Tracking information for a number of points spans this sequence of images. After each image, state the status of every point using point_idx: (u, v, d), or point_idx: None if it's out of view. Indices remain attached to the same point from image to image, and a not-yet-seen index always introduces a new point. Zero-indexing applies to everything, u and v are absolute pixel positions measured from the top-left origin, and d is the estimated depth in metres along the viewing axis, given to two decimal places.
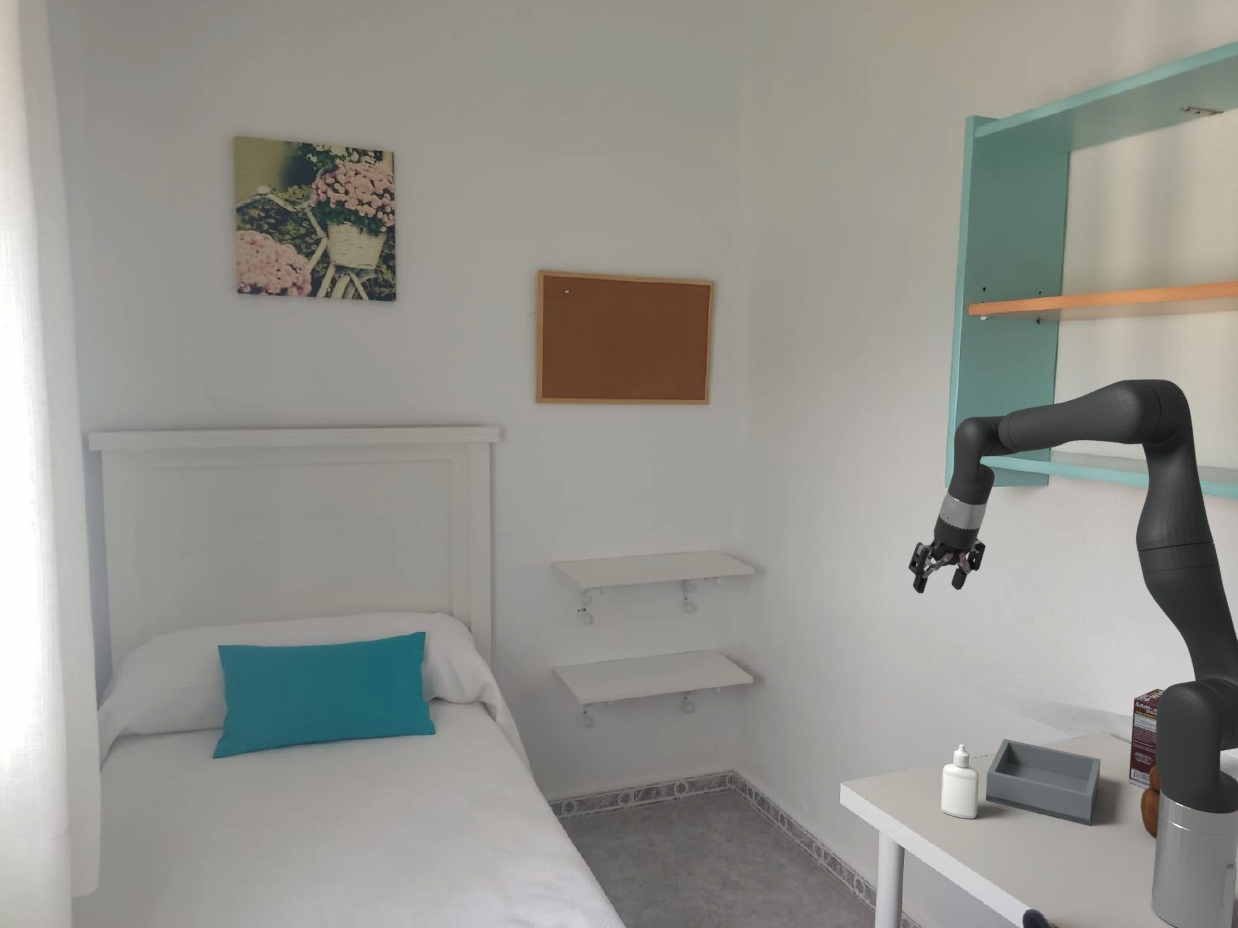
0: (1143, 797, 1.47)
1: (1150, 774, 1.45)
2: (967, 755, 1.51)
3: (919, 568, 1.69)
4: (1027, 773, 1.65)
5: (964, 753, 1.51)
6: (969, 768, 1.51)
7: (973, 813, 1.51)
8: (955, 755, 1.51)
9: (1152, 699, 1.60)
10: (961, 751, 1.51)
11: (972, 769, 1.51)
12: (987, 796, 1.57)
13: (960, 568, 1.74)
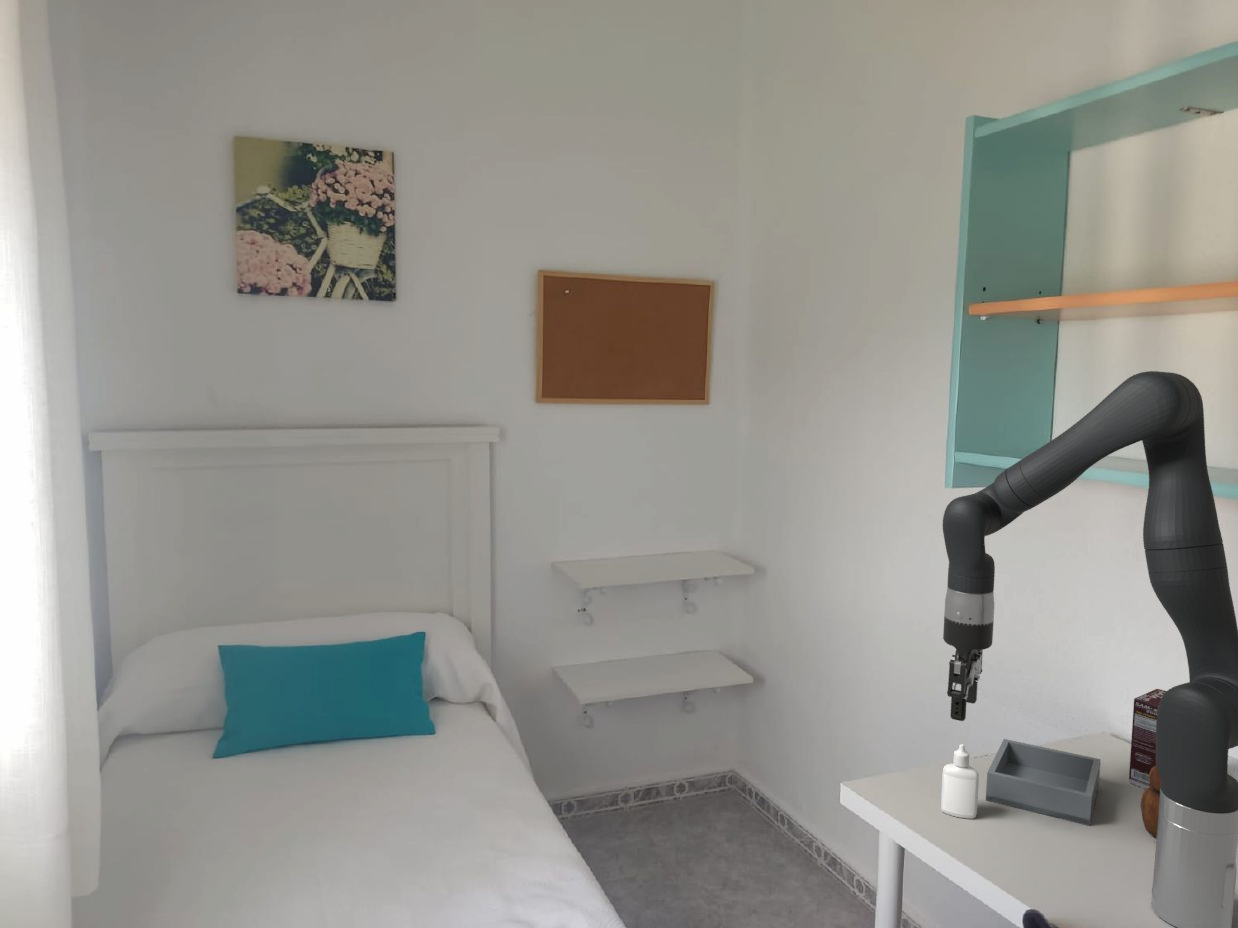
0: (1143, 797, 1.47)
1: (1150, 774, 1.45)
2: (967, 755, 1.51)
3: (964, 688, 1.44)
4: (1027, 773, 1.65)
5: (964, 753, 1.51)
6: (969, 768, 1.51)
7: (973, 813, 1.51)
8: (955, 755, 1.51)
9: (1152, 699, 1.60)
10: (961, 751, 1.51)
11: (972, 769, 1.51)
12: (987, 796, 1.57)
13: None
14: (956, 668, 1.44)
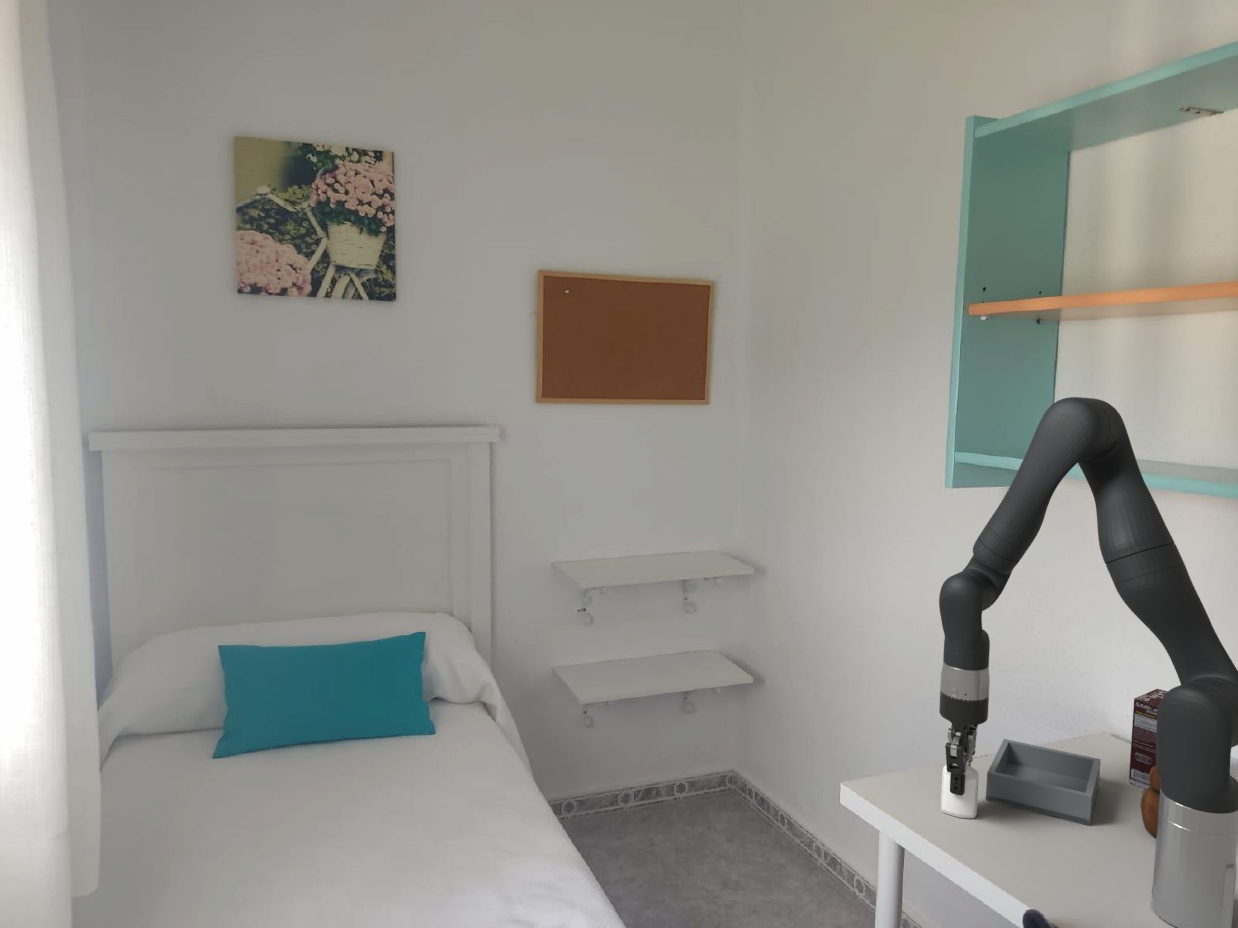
0: (1143, 797, 1.47)
1: (1150, 774, 1.45)
2: None
3: (962, 767, 1.47)
4: (1027, 773, 1.65)
5: (964, 753, 1.51)
6: (969, 768, 1.51)
7: (973, 813, 1.51)
8: None
9: (1152, 699, 1.60)
10: None
11: (972, 769, 1.51)
12: (987, 796, 1.57)
13: None
14: (952, 752, 1.46)
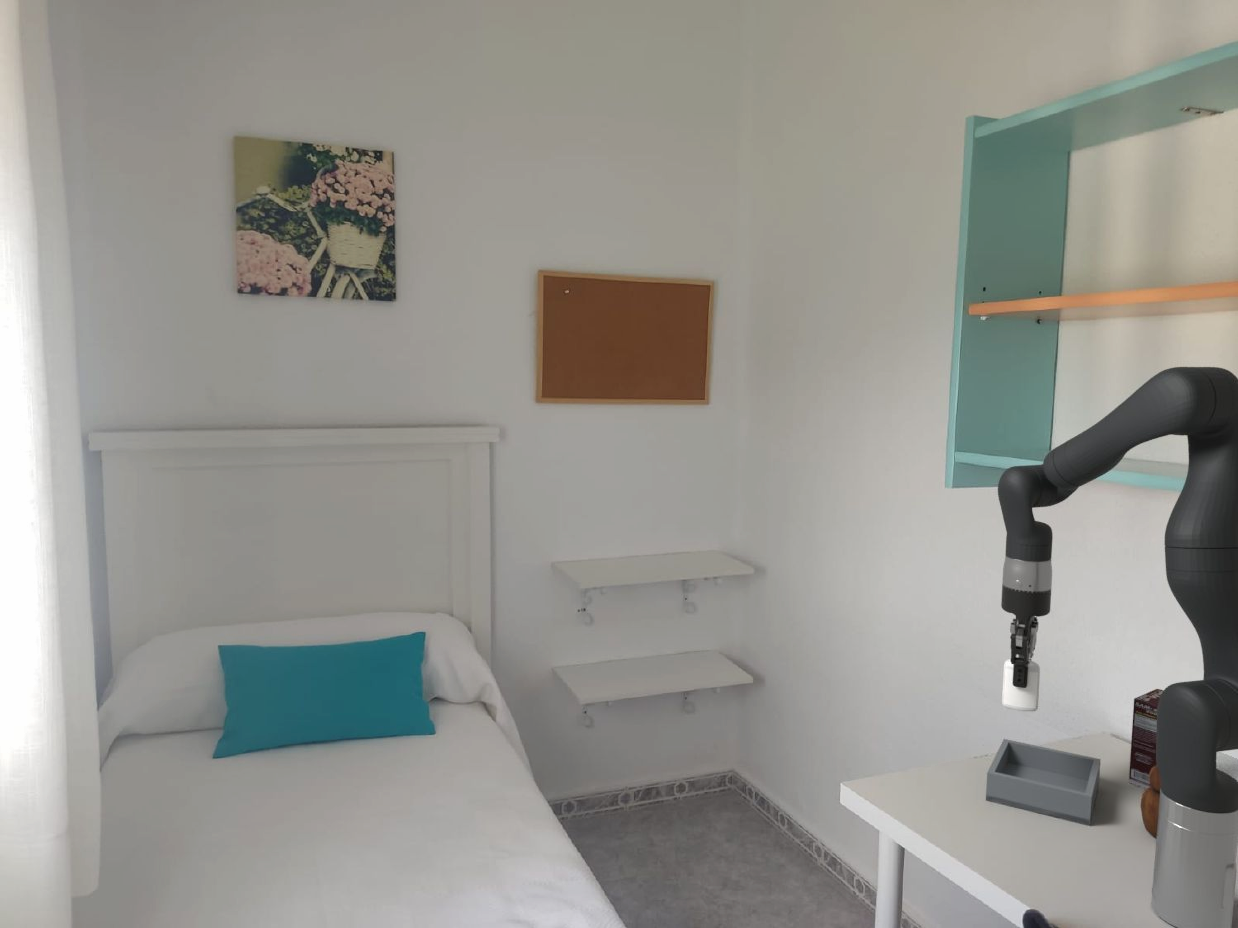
0: (1143, 797, 1.47)
1: (1150, 774, 1.45)
2: None
3: (1027, 657, 1.49)
4: (1027, 773, 1.65)
5: None
6: (1030, 661, 1.53)
7: (1035, 705, 1.53)
8: None
9: (1152, 699, 1.60)
10: None
11: (1033, 662, 1.53)
12: (987, 796, 1.57)
13: None
14: (1018, 642, 1.48)
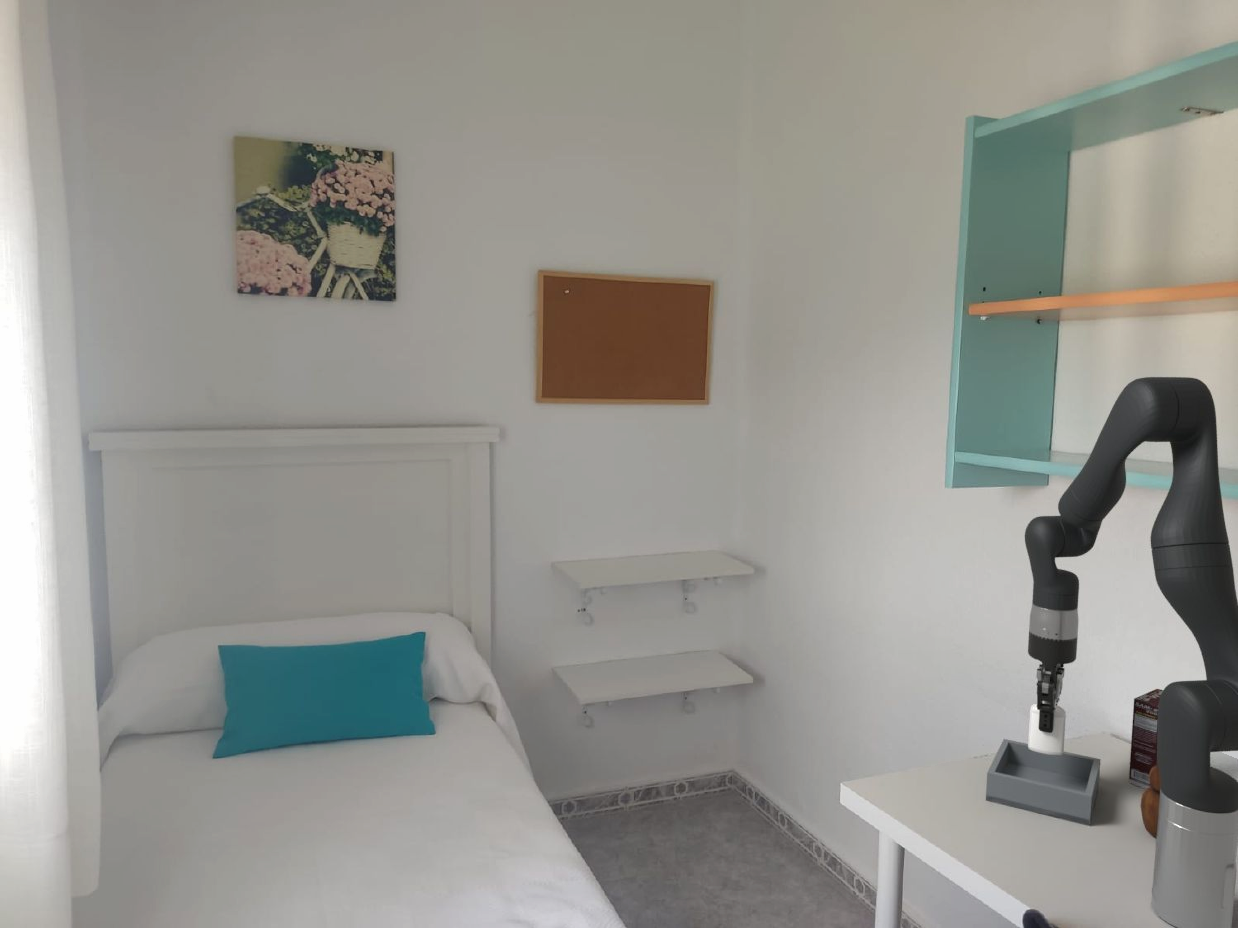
0: (1143, 797, 1.47)
1: (1150, 774, 1.45)
2: None
3: (1053, 704, 1.53)
4: (1027, 773, 1.65)
5: None
6: (1056, 707, 1.57)
7: (1061, 750, 1.56)
8: None
9: (1152, 699, 1.60)
10: None
11: (1059, 708, 1.57)
12: (987, 796, 1.57)
13: None
14: (1044, 689, 1.52)
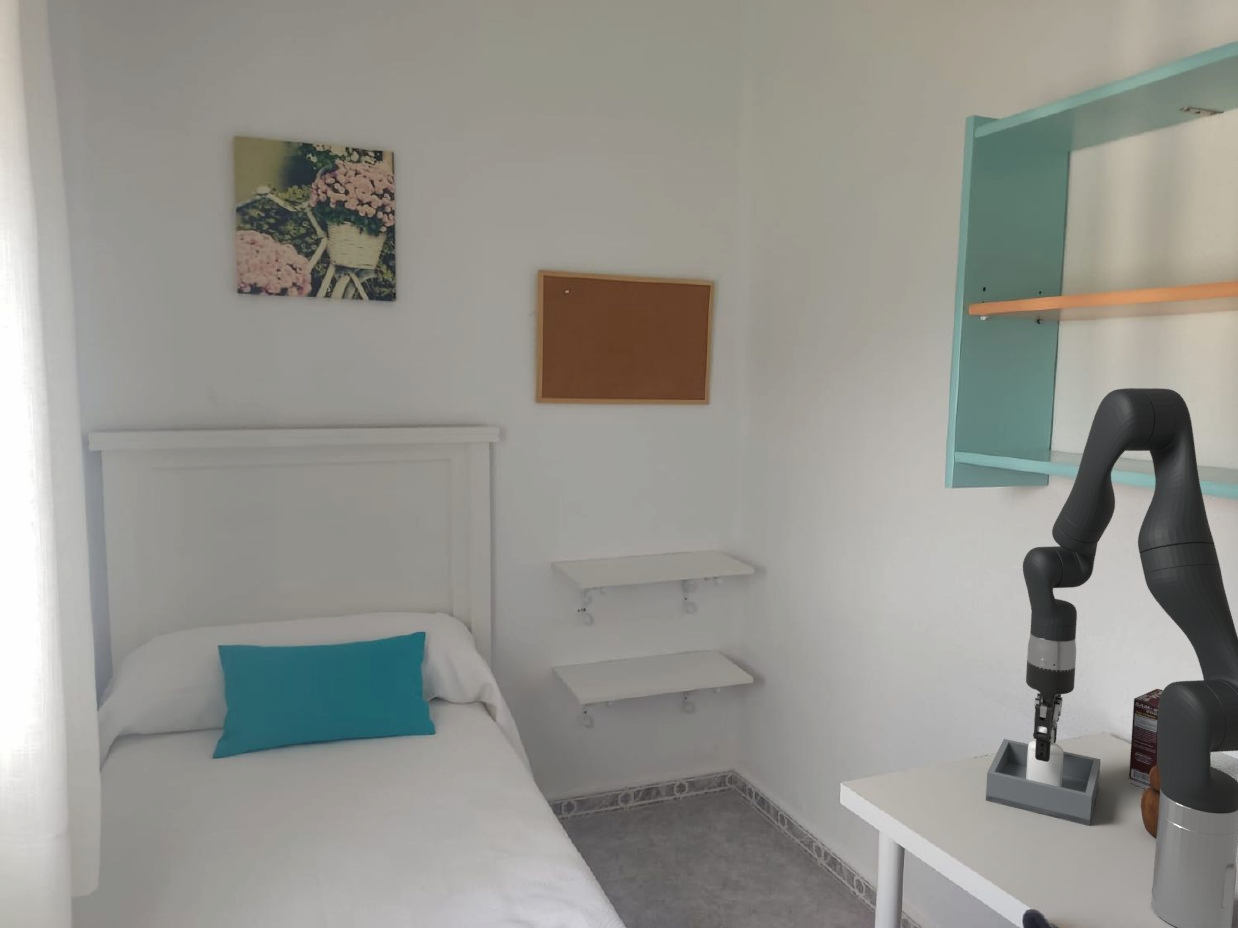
0: (1143, 797, 1.47)
1: (1150, 774, 1.45)
2: (1052, 732, 1.57)
3: (1050, 731, 1.52)
4: None
5: None
6: (1054, 744, 1.58)
7: None
8: None
9: (1152, 699, 1.60)
10: (1046, 728, 1.57)
11: (1057, 745, 1.57)
12: (987, 796, 1.57)
13: None
14: (1042, 712, 1.52)
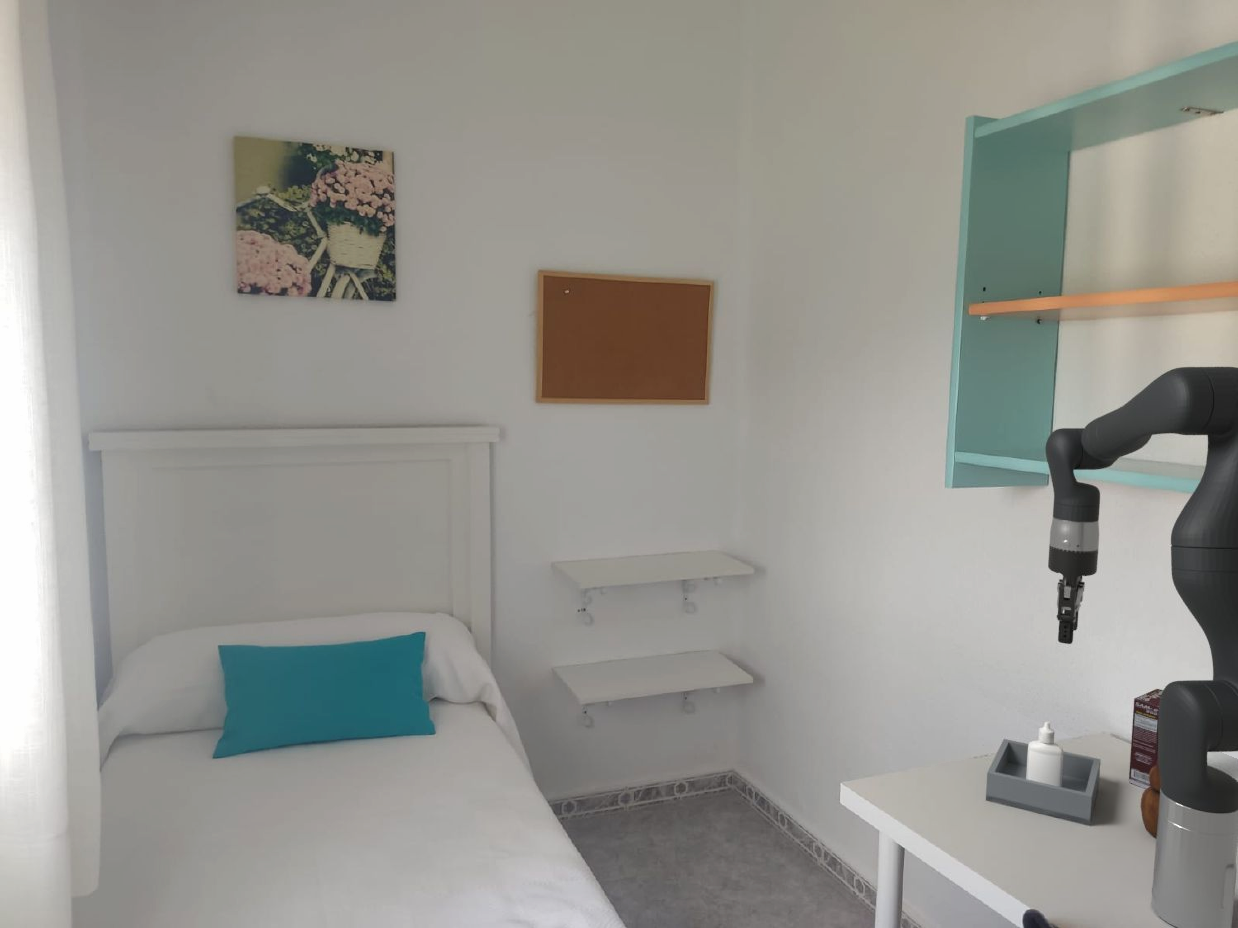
0: (1143, 797, 1.47)
1: (1150, 774, 1.45)
2: (1052, 732, 1.57)
3: (1074, 611, 1.51)
4: None
5: (1049, 730, 1.57)
6: (1054, 744, 1.58)
7: None
8: (1041, 732, 1.58)
9: (1152, 699, 1.60)
10: (1046, 728, 1.57)
11: (1057, 745, 1.57)
12: (987, 796, 1.57)
13: None
14: (1066, 592, 1.51)
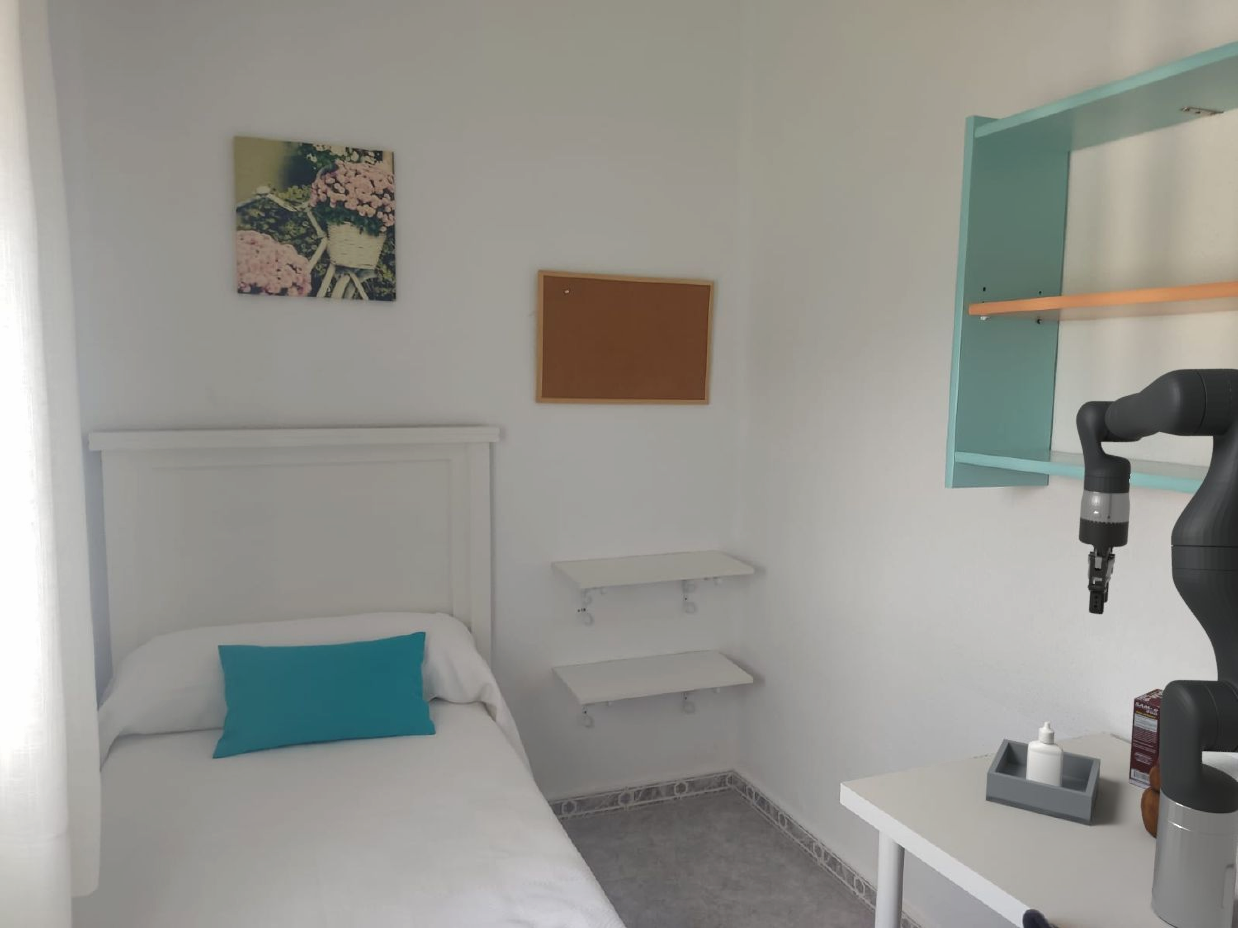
0: (1143, 797, 1.47)
1: (1150, 774, 1.45)
2: (1052, 732, 1.57)
3: (1105, 581, 1.53)
4: None
5: (1049, 730, 1.57)
6: (1054, 744, 1.58)
7: None
8: (1041, 732, 1.58)
9: (1152, 699, 1.60)
10: (1046, 728, 1.57)
11: (1057, 745, 1.57)
12: (987, 796, 1.57)
13: None
14: (1097, 563, 1.53)
